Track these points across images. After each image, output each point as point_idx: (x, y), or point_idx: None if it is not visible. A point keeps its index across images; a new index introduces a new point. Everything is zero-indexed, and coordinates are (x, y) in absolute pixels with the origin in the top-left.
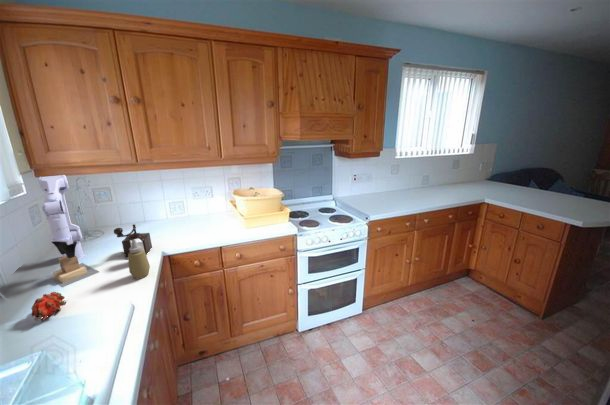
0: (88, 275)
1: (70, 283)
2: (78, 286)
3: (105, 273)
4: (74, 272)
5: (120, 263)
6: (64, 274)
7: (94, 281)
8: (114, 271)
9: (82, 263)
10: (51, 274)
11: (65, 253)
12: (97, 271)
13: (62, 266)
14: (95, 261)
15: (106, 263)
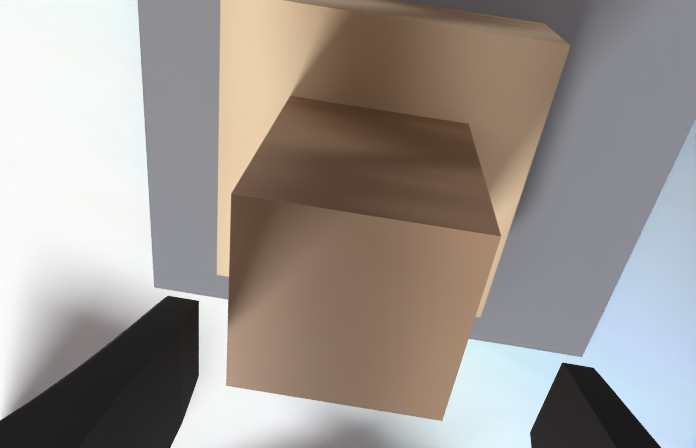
0: (177, 205)
1: (151, 11)
2: (25, 19)
3: (101, 287)
4: (219, 154)
5: (193, 430)
6: (282, 64)
7: (3, 153)
8: (68, 331)
9: (568, 350)
10: None
11: (542, 409)
12: (188, 285)
13: (371, 148)
14: (488, 407)
15: (324, 405)
